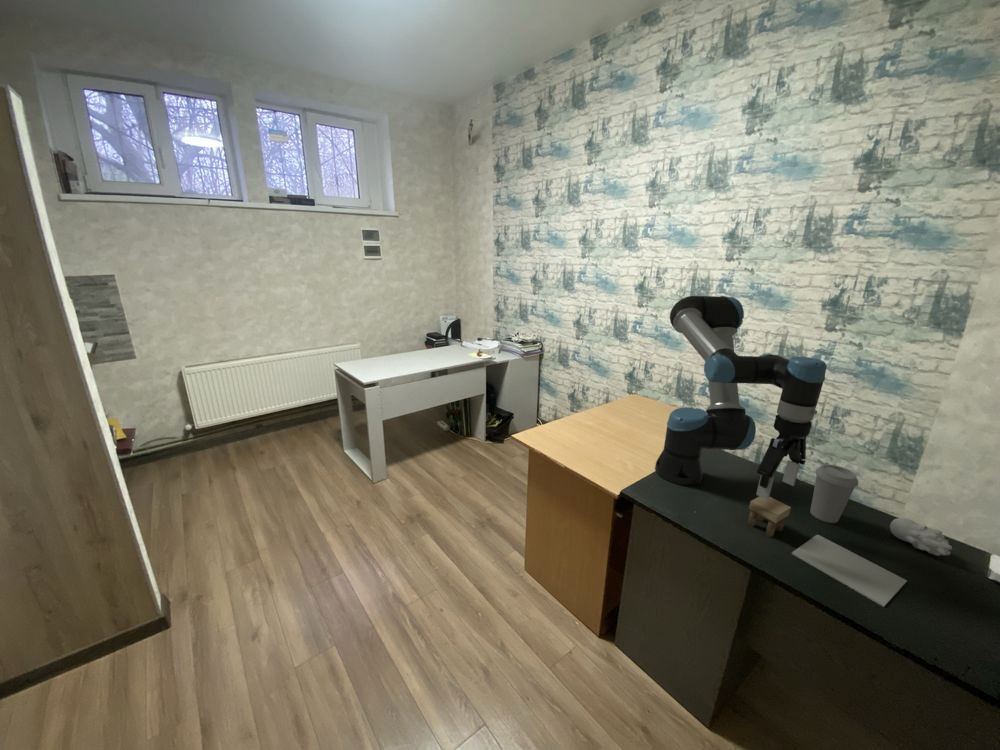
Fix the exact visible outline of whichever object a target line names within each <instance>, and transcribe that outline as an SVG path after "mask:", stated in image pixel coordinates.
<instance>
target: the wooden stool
mask: <svg viewBox="0 0 1000 750" xmlns="http://www.w3.org/2000/svg"><path fill="white" fill-rule="evenodd" d="M748 509H749V510H750V512H749V516H748V520H747V525H748V526H750V527H756V524H757V521H760V522H765V519H767V520H768V521H767V522H768V523H767V526H766V530H765V535H766V536H767V537H769V538H773V537H774V535H775V531H778V532H783V530H784V526H785V521H786V518H787V517H788V516H789V515H790V512H791V509H792V507H791V506H790V505H787V504H785V503H784V502H782V501H779V500H777V499H775V498H773V497H771V496H769V499H768V500H766V499H764V498H762V497H760V496H757V497H756V498H754V499H752V500H750V503H749V506H748Z"/></svg>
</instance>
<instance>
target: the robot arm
mask: <svg viewBox="0 0 1000 750" xmlns="http://www.w3.org/2000/svg"><path fill="white" fill-rule="evenodd" d="M744 313H745V311H744V308H743V304H742V303H741V301H740V300H739V299H737V298H736V297H733V296H726V295H719V296H715V295H714V296H713V295H689V296H686V297H685V296H684V297H683V298H682V299H680V300H678V301H677V302H675V304H674V305H673V306H672V308H671V310H670V313H669V321H670V324H671V326H672V328H673V329H674V330H675V331H676V333H679V334H681V335H683V336H684V337H685V338H686V340H687V341H688V342H689V344H690V345H691V346H692V347H693V348H694V349H695V351H696V352H697V354H698V355H700V357H701V358H702V360H704V366H703V371H704V374H705V375H704V376H705V378H706V379H707V380H708V392H709V406H708V407H707V408H706V409H705V410H704V409H701V408H698V407H697V408H695V407H693V406H692V407H691V406H687V407H678V408H675V409H674V410H672V411H671V412H670V413H669V416H668V420H667V422H666V432H665V439H664V445H663V449H662V451H661V453H660V454H659V456H658V458H657V460H656V462H655V466H654V470H655V472H656V474H657V475H658V476H659V477H661V479H664V480H666V481H668V482H670V483H673V484H677V485H680V486H681V485H683V486H695V485H698V484H700V483H701V482H702V481H703V476H704V471H703V465H702V459H701V456H702V451H703V450H729V451H739V450H740V451H741V450H746V449H747V448H750V446H751V445H752V443H753V442H754V440H755V438H756V433H757V430H756V428H757V427H756V426H757V425H756V422H755V420H754V418H752V416H750V415H748V414H746V408H745V407H744V406H742V405H741V404H740V396H739V387H738V384H752V385H753V384H755V385H773V386H776V387H778V388H779V389H781V394H780V398H779V402H778V405H777V409H776V413H777V414H776V415H775V419H774V422H773V429H774V430H775V431H777V432H778V435H777V436H776V438H775V437H771V439H770V441H769V445H768V447H767V450H766V452H765V454H764V455H763V458H762V460H761V462H760V464H759V466H758V468H757V470H756V473H757V474H758V475H760V476H759V477H760V478H759V482H758V486H757V490H756V496H757V497H759V496H760V497H762V498H764V499H766V500H768V499H769V497H770V496H771V495H770V494H771V492H772V486H773V484H774V483H773V482H774V479H775V476H774V474H775V473H776V471H777V469H778V467H779V466H780V464H781V463H782V461H783V459H784V458H785V457H788V458H789V460H787V461H786V466H785V469H784V473H783V475H782V476H783V477H782V480H781V482H783V483H786V484H788V485H789V486H792V487H794V486H795V485H796V480H797V476H798V473H799V469H800V466H801V465H802V466H803V465H805V463H806V460H805V459H806V455H807V453H806V452H807V448H806V447H807V440H806V439H807V437H808V436H809V435H810V433H811V428H812V424H813V423H812V421H813V419H814V416H815V415H817V414H818V411H817V410H816V409H817V405H818V402H819V398H820V395H821V392H822V389H823V384H824V382H825V379H826V370H827V366H828V365H827V363H826V362H825V361H824V360H822V359H819V358H814V357H809V356H793V357H790V359H788V358H785V357H783V356H781V355H778V354H772V353H764V354H761V355H759V356H758V355H757V356H755V355H754V356H753V355H748V356H746V355H739V354H737V353H736V352H735V347H734V346H735V344H734V336H735V334H737V333H738V329H739V328H740V327H741V326H742V324H743V322H744V321H743V319H744V318H745V314H744Z"/></svg>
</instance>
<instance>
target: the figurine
mask: <svg viewBox="0 0 1000 750" xmlns="http://www.w3.org/2000/svg"><path fill="white" fill-rule="evenodd" d="M889 529H890V532H891V534H892V535H893V536H894V537H896V538H897V539H899V540H901V541H903V542H906V543H909V544H911V546H912V547H913V548H915V549H917V550H920V551H926V552H927V553H928V554H930V555H933V556H937V557H940V556H950V555H951V554H952V553H951V551H950V550H953V547H952V545H951V544H950V542H949V540H947V539H946V538H945V535H944V534H943V531H942V530H940V529H937V528H932V527H928V526H927V525H924V524H923V525H922V524H919V523H917V522H916V521H914V520H912V519H909V518H906V517H896V518H894V519H893V520H892V521H891V522H890V525H889Z"/></svg>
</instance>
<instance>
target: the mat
mask: <svg viewBox="0 0 1000 750" xmlns="http://www.w3.org/2000/svg"><path fill="white" fill-rule="evenodd" d="M791 555H793V556H795V557H796V558H798V559H800V560H802V561H803V562H805V563H807V564H808V565H810V566H812V567H814V568H815V569H818V570H819V571H821V572H822V573H824V574H826V575H827V576H829V577H831V578H833V579H834V580H836V581H837V582H839V583H841V584H843V585H845V586H846V585H847V586H846V587H848V588H850V589H851V590H853V589H854V590H853V591H855V592H856V593H859V594H860V595H862V596H864V597H865V596H866V597H865V598H867V599H869V600H871V601H873V602H874V603H876V604H878V605H880V606H881V607H883V608H884V607H885V606H887V605H888V604H889V602H890V601H891V600H892V599H893V597H894V596H895V595H896V594H897V593H898V592H899V591H900V590H901V589H902V588H903V587H904V586H905V584H906V583H907V581H908V580H906V579H905V578H903V577H901V576H900V575H897V574H895V573H893V572H891V571H889V570H888V569H885V568H883V567H882V566H880V565H878V564H876V563H874V562H872V561H870V560H868V559H866V558H864V557H862V556H860V555H858V554H857V553H854V552H852V551H851V550H848V549H847V548H845V547H843V546H841V545H839V544H837V543H835V542H833V541H831V540H829V539H828V538H825V537H823V536H822V535H819V534H816V535H814V536H813V537H812V538H810V539H809V540H807V541H806V542H805V543H804V544H802V545H800V546H799V547H798V548H796V549H794V550H793V551H792V552H791Z"/></svg>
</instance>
